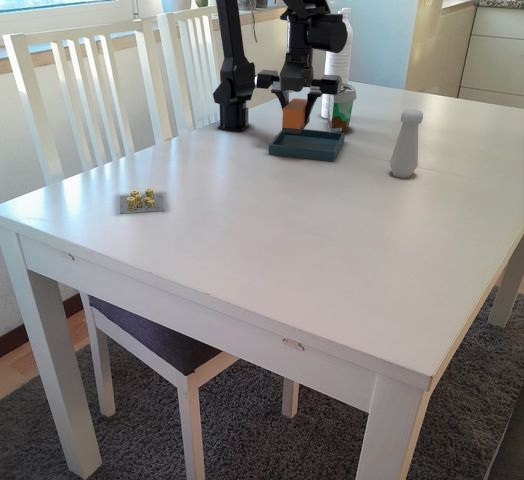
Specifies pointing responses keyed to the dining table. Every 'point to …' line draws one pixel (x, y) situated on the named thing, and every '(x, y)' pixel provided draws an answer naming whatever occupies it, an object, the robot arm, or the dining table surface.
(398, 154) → the salt shaker
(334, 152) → the dark teal tray
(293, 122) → the eraser
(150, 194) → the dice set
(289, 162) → the dining table surface
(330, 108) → the food container
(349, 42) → the water bottle
